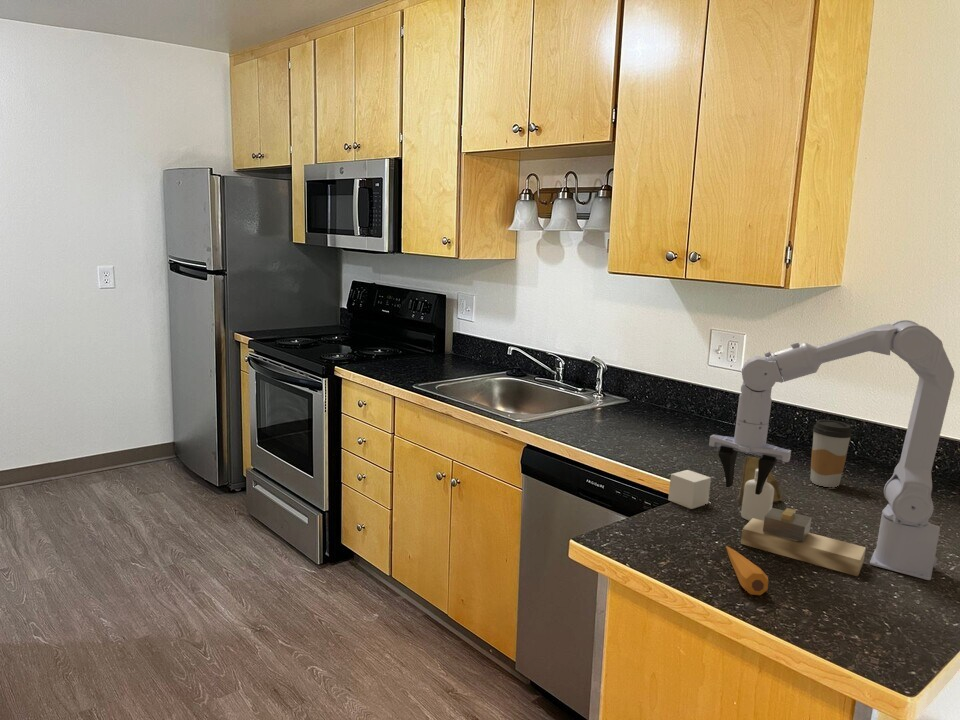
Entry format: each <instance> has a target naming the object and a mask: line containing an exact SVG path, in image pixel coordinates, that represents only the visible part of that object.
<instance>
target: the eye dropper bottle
mask: <svg viewBox="0 0 960 720" xmlns="http://www.w3.org/2000/svg"><path fill="white" fill-rule="evenodd" d="M757 479H758V469H756V470H755V477H754V479H753V480H749V481H747V482H746V483H745V488H744V495H743V503H742V505H741V512H740V516H741V518H742V519H745V520H747V521H748V522H749V521H750V520H751V519H752V518H755V519H758V520H762V521H764V518H765V516H766V515H767V514H768V512H769V511H770V510H771V509H772V508H773V505H774V504H773V503H774V502H773V497H774V487H773V486H772V485H771V484H769V483H768V482H766V481H767V479H766V481H765V483H764V486H763V489H762V492H761V493H760V494H759V495H758V494H755V490H756V484H757Z"/></svg>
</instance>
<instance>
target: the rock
mask: <svg viewBox="0 0 960 720" xmlns="http://www.w3.org/2000/svg"><path fill="white" fill-rule="evenodd" d="M759 459H760V458H758V457H756V456H755V457H754V456H745V457H744V460H743V461H744V462H743V465H742V472H741V477H742V479H741V481H742V482H741V485H740V487H739V493H738V503H739V504H740V505H741V506H742V503H743V495H744V488H745V483H746V482H747V481H749V480H753V479H754V477H755V470H756V469H758V461H759ZM766 482H768V483H769V484H771V485H772V486H773V487H774V497H773V503H774V502H781V501H782V500H783V498H782V493H781V490H780V485H779V482H778V481H777V479H776V478H775V476H774V474H773V472H772V470H771V471H770V473H769V475H768V477H767V481H766Z"/></svg>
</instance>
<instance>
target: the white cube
mask: <svg viewBox="0 0 960 720" xmlns="http://www.w3.org/2000/svg"><path fill="white" fill-rule="evenodd" d="M669 480H670V481H669V489H668V498H667V500H668V501H670V502H672V503H675V504H678V505H680V506H682V507H685V508H687V509H690V510H692V509H696V508H699V507H702V506H705V504H706V505H708V504H709V498H710V492H711V491H710V490H711V481H712V477H710V476H708V475H704V474H702V473H699V472H696V471H692V470H690V469H686V470H685V469H684V470H682V471H677V472H674V473H671V474H670V479H669Z"/></svg>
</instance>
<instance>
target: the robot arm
mask: <svg viewBox="0 0 960 720" xmlns="http://www.w3.org/2000/svg"><path fill="white" fill-rule="evenodd" d="M867 352H870V353H871V352H872V353H875V354H881V355H886V356H891V352H892V353H893V354H895V355H896V356H898V357H899V359H901V360H903V361H904V362H905V363H907V364H908V366H909V367H910V368H911V369H912V370H913V372H915V374H916V375H917V376H918V382H917V386H916V391H915V394H914V398H913V403H912V407H911V412H910V416H909V421H908V423H907V424H908V425H907V429H906V434H905V438H904V442H903V444H902V445H903V446H902V451H901V454H900V459H899V461H898V463H897V465H896V466H895V467H894V470H893V474H892V475H891V477H890V479H888V480H887V482H886V483H885V485H884V488H883V495H884V497H885V499H886V501H887V502H888V503H887V505H886V506H885V507H884V508H883V509H882V511H881V515H880V517H881V518H880V522H879V523H880V524H879V530H878V534H877V535H878V536H877V542H876V548H875V549H874V551H873V553H872V555H871V558H870V560H869V565H871V566H874V567H879V568H881V569H885V570H889V571H893V572H897V573H900V574H902V575H903V574H904V575H908V576H911V577H915V578H918V579H922V580H924V581H931V580H932V575H933V570H934V568H936V566H937V561H938V557H936V554H937V553H936V552H937V548H938V542H939V536H940V532H941V531H940V530H941V527H940V526H939V525H937V524H933V523H930V522H929V520H930V518H931V517H932V515H933V513H934V507H935V506H934V503H933V500H932V491H933V480H932V478H933V477H932V470H933V466H934V462H935V458H936V457H935V456H936V453H937V449H938V444H939V440H940V437H941V433H942V429H943V426H944V425H943V423H944V421H945V420H944V419H945V416H946V412H947V409H948V408H947V407H948V403H949V400H950V395H951V391H952V387H953V383H954V379H955V370H954V368H953V366H952V364H951V361H950V359H949V357H948V355H947V353H946V350H945V348H944V343H943V341H942V340H941V339H940V338H939V337H938V336H937V335H936V334H935V333H934V332H933V331H932V330H930V329H929V328H927V327H926V326H923V325H920V324H918V323H916V322H915V321H912V320H907V319H906V320H905V319H904V320H899V321H895V322H893V323H885V324H880V325H877V326H873V327H870V328H866V329H864V330H860V331H858V332H854V333H852V334H848V335H846V336H843V337H840V338H837V339H834V340H832V341H828V342H824V343H823V344H819V345H816V346H814V345H811V344H809V343H808V342H803V343H799V341H795V342H792V343H790V347H787V348H783V349H781V350H778V351H774V352H771V351H770V350H767V351H766V352H764V356H752V357H750V358H748V359H747V360H746V362H744V364H743V366H742V368H741V376H742V377H741V378H742V384H741V386H740V394H739V396H738V404H737V405H738V406H737V410H736V411H737V412H736V421H735V429H734V436H726V435H725V436H724V435H719V434H712V435H710V436H709V441H708V442H709V443H708V446H709V447H712V448H715V447H718V448H720V449H719V450H718V451H717V454H718V458H719V460H720V462H721V465H722V469H723V472H724V477H725V487H726V488H731V487H732V486H733V483H734V479H735V467H736V461H737V456H738V452H741V453H746V454H751V455H755V456H760V458H758V459H759V461H758V479H757V484H756V490H755V494H758V495H759V494H760V493H761V492H762V489H763V486H764V483H765V481H766V479H767V477H768V475H769V473H770V471H771V472H772V469H774V466H775V465H776V464H777V462H778V461H781V462H783V463H788V462H790V460H791V455H792V454H791V453H792V450H791V449H786V448H784V447H783V448H782V447H779V446H776V445H773V444H771V443H770V444H769V443H767V440H768V439H767V438H768V431H769V424H770V423H769V422H770V416H771V408H772V402H773V401H772V400H773V399H772V397H771V396H772V395H771V394H772V389H773V387H774V385H775V384H776V383H781V384H782V383H784V382H785V383H786V382H789V381H792V380H796V379H799V378H802V377H805V376H809V375H813V374H816V373H817V372H818V370H819V368H820V366H821V365H822V364H825V363H829V362H833V361H837V360H840V359H844V358H848V357H851V356H856V355H859V354H863V353H867Z"/></svg>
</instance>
